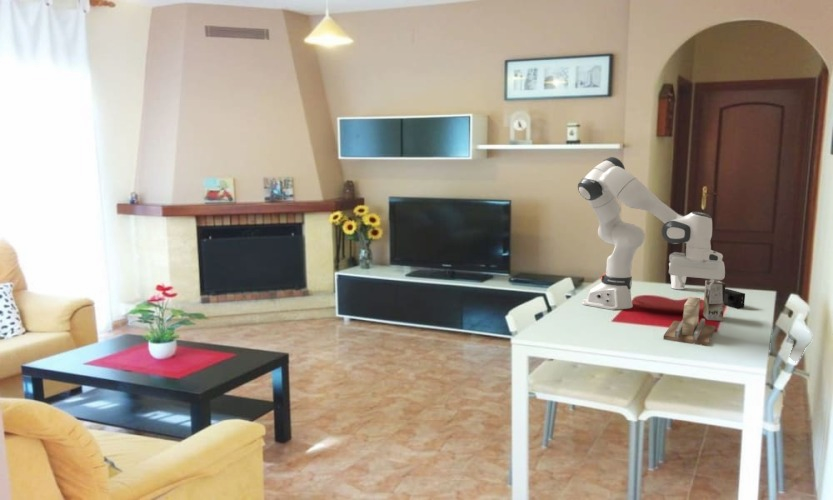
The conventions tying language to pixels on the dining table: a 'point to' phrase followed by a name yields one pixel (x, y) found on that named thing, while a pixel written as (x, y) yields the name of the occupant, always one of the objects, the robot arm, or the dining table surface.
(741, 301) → the digital camera
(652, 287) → the dining table surface
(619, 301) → the robot arm
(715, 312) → the coffee box
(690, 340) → the track base
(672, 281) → the cup
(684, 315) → the door panel
